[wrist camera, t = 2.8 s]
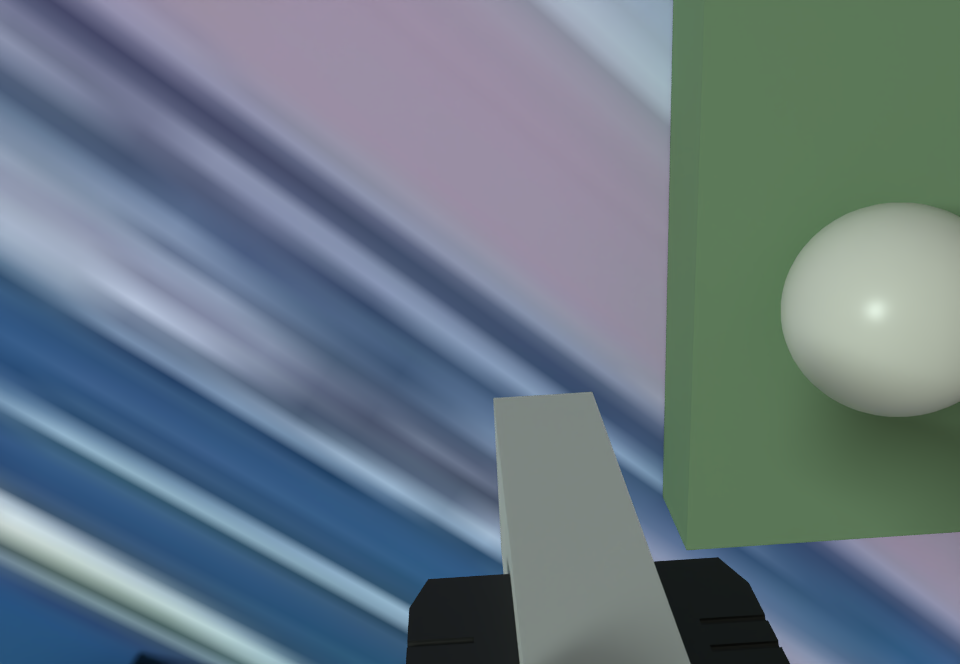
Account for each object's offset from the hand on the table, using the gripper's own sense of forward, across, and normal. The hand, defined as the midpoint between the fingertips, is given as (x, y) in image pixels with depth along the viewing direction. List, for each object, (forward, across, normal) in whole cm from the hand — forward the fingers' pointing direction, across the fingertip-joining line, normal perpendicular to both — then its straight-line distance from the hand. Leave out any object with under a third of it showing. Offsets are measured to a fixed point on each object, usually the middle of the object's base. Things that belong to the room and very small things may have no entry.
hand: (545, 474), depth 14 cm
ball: (+7, -9, 0) cm, 11 cm away
